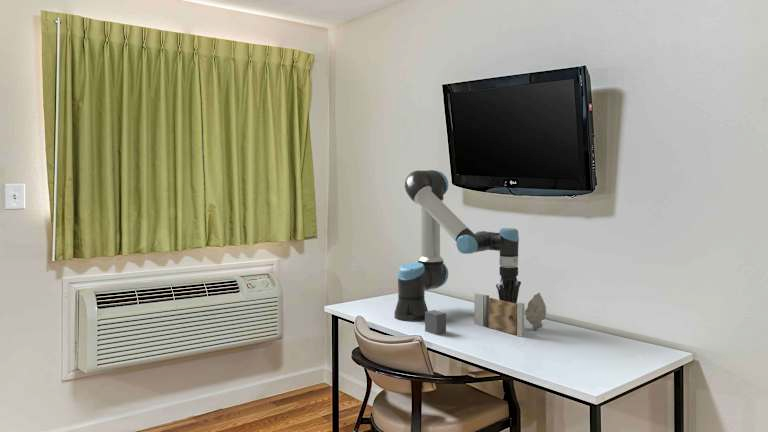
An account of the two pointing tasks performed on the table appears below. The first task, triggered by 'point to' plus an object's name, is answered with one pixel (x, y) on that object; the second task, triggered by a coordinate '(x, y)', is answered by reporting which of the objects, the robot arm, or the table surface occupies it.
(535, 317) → the stone tool
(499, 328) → the door
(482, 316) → the door frame
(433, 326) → the block
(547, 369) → the table surface
